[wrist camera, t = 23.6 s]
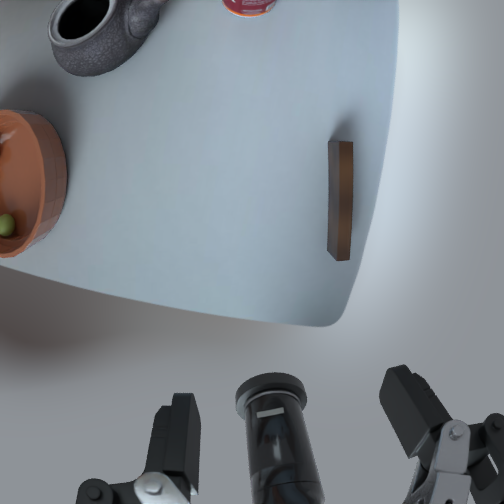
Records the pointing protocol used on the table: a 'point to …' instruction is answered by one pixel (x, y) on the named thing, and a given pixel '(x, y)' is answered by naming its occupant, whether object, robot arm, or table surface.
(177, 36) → the table surface
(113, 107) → the table surface
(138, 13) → the teapot
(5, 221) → the ball olive
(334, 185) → the stick
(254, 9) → the pill bottle
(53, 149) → the bowl
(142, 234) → the table surface
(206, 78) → the table surface
